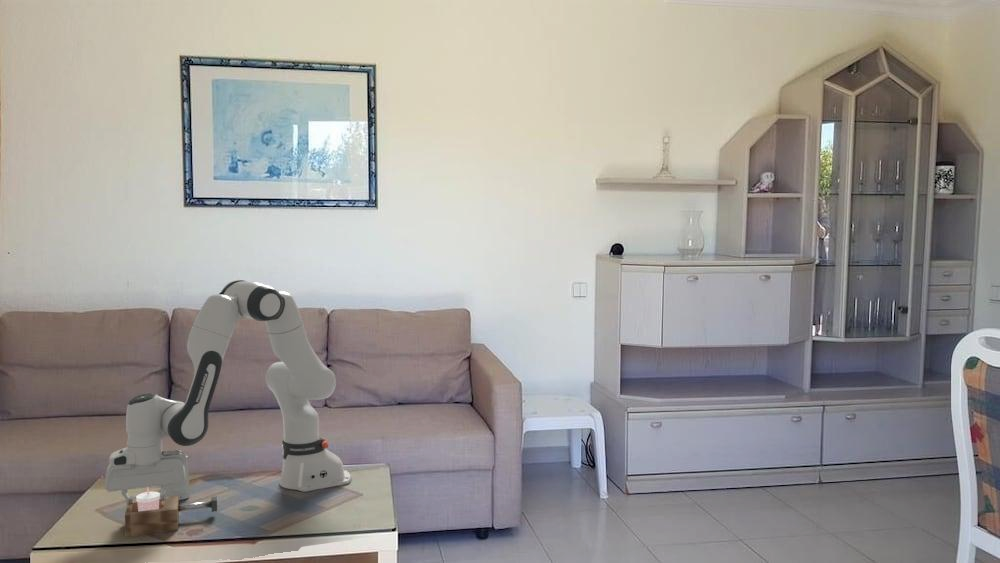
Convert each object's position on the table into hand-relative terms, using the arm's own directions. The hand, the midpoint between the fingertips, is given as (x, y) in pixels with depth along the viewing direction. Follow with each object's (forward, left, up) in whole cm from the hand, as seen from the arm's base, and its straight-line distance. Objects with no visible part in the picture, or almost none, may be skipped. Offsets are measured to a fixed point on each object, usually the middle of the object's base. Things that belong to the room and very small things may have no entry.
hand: (146, 502), depth 217 cm
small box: (-6, -22, -7) cm, 24 cm away
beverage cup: (0, 0, -7) cm, 7 cm away
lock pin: (-12, -2, -5) cm, 13 cm away
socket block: (-1, 0, -7) cm, 7 cm away
